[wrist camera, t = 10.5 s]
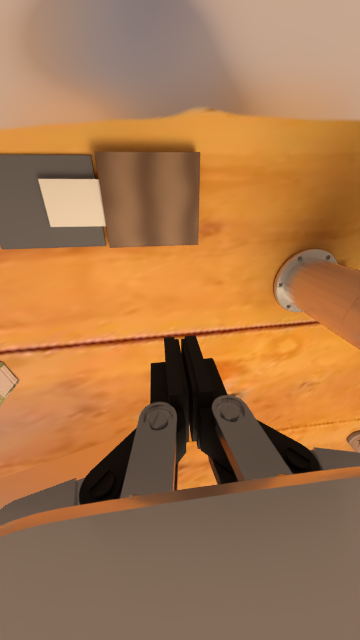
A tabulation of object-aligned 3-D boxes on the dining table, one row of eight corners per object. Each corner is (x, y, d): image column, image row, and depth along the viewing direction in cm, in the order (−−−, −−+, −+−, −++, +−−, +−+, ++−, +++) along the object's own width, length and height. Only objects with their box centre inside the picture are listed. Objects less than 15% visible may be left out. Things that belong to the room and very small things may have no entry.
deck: (196, 156, 31) (200, 152, 29) (195, 242, 37) (198, 244, 35) (98, 155, 30) (94, 151, 28) (112, 245, 36) (109, 247, 33)
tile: (101, 180, 31) (98, 179, 30) (107, 225, 34) (105, 226, 32) (43, 180, 30) (38, 178, 29) (54, 226, 33) (50, 227, 32)
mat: (91, 155, 30) (90, 155, 30) (106, 245, 35) (105, 245, 35) (-33, 155, 28) (-35, 154, 28) (3, 248, 34) (1, 249, 34)
